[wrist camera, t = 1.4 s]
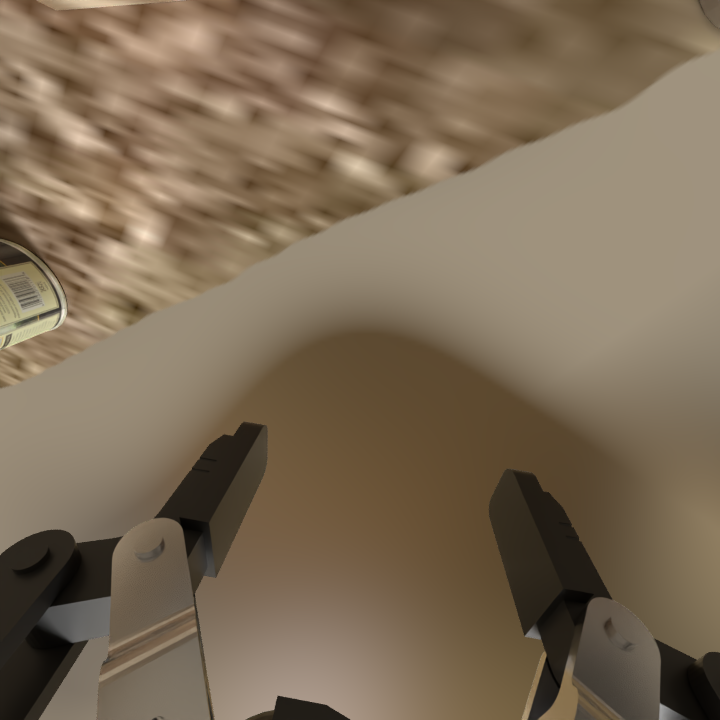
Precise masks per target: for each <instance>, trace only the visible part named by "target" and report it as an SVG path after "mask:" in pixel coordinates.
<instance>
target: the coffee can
mask: <svg viewBox="0 0 720 720" xmlns="http://www.w3.org/2000/svg"><path fill="white" fill-rule="evenodd" d="M66 315H67V302H66V296H65V294H64V292H63V290H62V287H61V285H60V283H59V282H58V280H57V278H56V277H55V275H54V274H53V273H52V272H51V270H50V269H49V268H48V267H47V266H46V265H45V264H44V263H43V262H42V261H41V260H40V259H39V258H38V257H36V256H35V255H34V254H33V253H32V252H30V251H28V250H27V249H26V248H24V247H22V246H20V245H18V244H16V243H14V242H11V241H8V240H4V239H0V350H2V349H4V348H7V347H9V346H12V345H14V344H17V343H19V342H22V341H24V340H26V339H29V338H31V337H34V336H36V335H39V334H41V333H44V332H46V331H50V330H53V329H55V328H57V327H59V326H60V325H61V324H62V323H63V321H64V320H65V318H66Z"/></svg>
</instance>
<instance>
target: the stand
mask: <svg viewBox="0 0 720 720" xmlns="http://www.w3.org/2000/svg"><path fill="white" fill-rule="evenodd" d="M37 1H39V2H41V3H43V4H45V5H46V6H48V7H50V8H52V9H54V10H56V11H57V10H70V9H82V8H95V7H108V6H120V5H133V4H146V3H158V2H171V1H184V0H37Z"/></svg>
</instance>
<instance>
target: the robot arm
mask: <svg viewBox="0 0 720 720" xmlns="http://www.w3.org/2000/svg"><path fill="white" fill-rule="evenodd" d="M700 3H701V6H702V8H703V11H704V13H705V15H706V16H707V17H708V19H709V20H710V21H711V22H712V24H713V25H714V26H716V27H717V28H719V29H720V0H700ZM266 465H267V426H266V425H261V424H255V423H249V422H243V423H242V424H241V425H240V427H239V428H238V430H237V431H236V433H235V434H234V436H230V435H223V436H221V437H220V438H218V439H217V440H215V441H214V442H213V443H211V444H210V445H209V446H208V447H207V449H206V450H205V451H204V453H203V454H202V455H201V457H200V459H199V460H198V461H197V462H196V464H195V465H194V466H193V467H192V470H191V471H190V472H189V473H188V474H187V476H186V477H185V478H184V480H183V481H182V482H181V484H180V485H179V486H178V488H177V489H176V490H175V492H174V493H173V495H172V496H171V497H170V498H169V500H168V501H167V503H166V504H165V505H164V507H163V508H162V509H161V511H160V512H159V513H158V514H157V516H156V517H155V518H154V519H152V520H148V521H146V522H143V523H141V524H139V525H137V526H136V527H134V528H133V529H131V530H130V531H129V532H128V533H126V534H125V535H124V536H122V537H118V538H112V539H105V540H97V541H90V542H82V543H76V542H75V540H74V538H73V536H72V535H71V534H70V533H69V532H66V531H63V530H47V531H43V532H39V533H36V534H33V535H31V536H29V537H26V538H24V539H22V540H20V541H19V542H17V543H15V544H14V545H12V546H11V547H9V548H8V549H7V550H5V551H4V552H3V553H2V554H1V555H0V720H38V719H39V718H40V716H41V715H42V713H43V712H44V710H45V708H46V707H47V705H48V704H49V702H50V701H51V699H52V697H53V696H54V694H55V693H56V691H57V689H58V688H59V686H60V685H61V683H62V682H63V680H64V678H65V677H66V675H67V674H68V672H69V671H70V669H71V667H72V666H73V664H74V663H75V661H76V659H77V658H78V656H79V655H80V653H81V652H82V650H83V648H84V647H85V645H86V644H87V642H88V640H89V639H94V638H99V637H104V636H109V652H108V657H107V659H106V660H105V661H104V662H103V664H102V667H101V671H100V677H99V686H98V705H97V720H215V719H214V713H213V706H212V700H211V694H210V688H209V682H208V676H207V670H206V663H205V657H204V650H203V644H202V637H201V631H200V624H199V618H198V611H197V604H196V598H195V592H196V590H197V588H198V586H199V584H200V582H201V580H202V578H203V576H209V577H215V578H216V577H217V574H218V572H219V570H220V568H221V566H222V564H223V562H224V559H225V557H226V555H227V553H228V551H229V549H230V547H231V544H232V542H233V540H234V538H235V536H236V534H237V532H238V529H239V527H240V525H241V523H242V521H243V519H244V517H245V514H246V512H247V510H248V508H249V506H250V504H251V502H252V499H253V497H254V495H255V493H256V491H257V489H258V487H259V484H260V482H261V480H262V478H263V475H264V473H265V469H266ZM489 517H490V521H491V524H492V528H493V531H494V534H495V538H496V541H497V544H498V548H499V551H500V555H501V558H502V562H503V565H504V568H505V571H506V575H507V578H508V581H509V585H510V589H511V592H512V595H513V599H514V602H515V605H516V609H517V612H518V616H519V619H520V622H521V626H522V629H523V632H524V636H526V637H531V638H536V639H541V640H542V642H543V646H544V649H545V652H544V653H543V654H542V656H541V658H540V662H539V665H538V668H537V671H536V675H535V678H534V681H533V684H532V688H531V691H530V694H529V697H528V701H527V704H526V707H525V711H524V714H523V717H522V720H720V653H718V652H709V653H707V654H705V655H704V656H702V657H701V658H699V659H698V660H696V659H694V658H692V657H690V656H688V655H686V654H684V653H682V652H680V651H678V650H676V649H674V648H672V647H670V646H668V645H666V644H664V643H662V642H660V641H658V640H656V639H654V638H653V637H652V635H651V633H650V632H649V630H648V629H647V628H646V627H645V625H644V624H643V623H642V622H641V621H640V620H639V619H638V618H637V617H636V616H635V615H634V614H633V613H632V612H630V611H629V610H628V609H627V608H626V607H624V606H622V605H621V604H619V603H617V602H615V601H614V600H612V598H611V596H610V594H609V592H608V591H607V589H606V587H605V585H604V583H603V582H602V580H601V578H600V576H599V574H598V572H597V570H596V568H595V566H594V565H593V563H592V561H591V559H590V557H589V555H588V553H587V552H586V550H585V548H584V546H583V544H582V542H580V541H579V537H578V535H577V533H576V531H575V529H574V528H573V527H571V525H572V524H571V522H570V520H569V518H568V517H567V515H566V513H565V511H564V509H563V507H562V506H561V505H560V504H559V503H558V502H557V501H556V500H555V499H554V498H553V497H552V496H551V494H550V493H549V492H543V490H542V488H541V486H540V484H539V482H538V480H537V478H536V476H535V475H534V474H533V473H530V472H525V471H519V470H514V469H506V470H505V471H504V473H503V475H502V477H501V479H500V481H499V483H498V485H497V487H496V489H495V491H494V494H493V495H492V497H491V500H490V504H489ZM246 720H350V719H348V718H347V717H345V716H344V715H342V714H340V713H339V712H337V711H335V710H333V709H332V708H330V707H329V706H327V705H323V704H318V703H313V702H308V701H302V700H297V699H292V698H287V697H282V696H278V697H277V701H276V705H275V709H274V710H272V711H267V712H263V713H260V714H258V715H255V716H252V717H250V718H248V719H246Z"/></svg>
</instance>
